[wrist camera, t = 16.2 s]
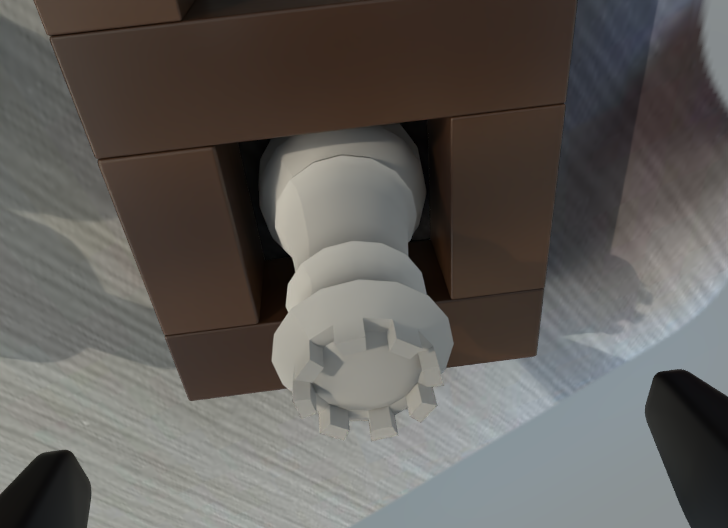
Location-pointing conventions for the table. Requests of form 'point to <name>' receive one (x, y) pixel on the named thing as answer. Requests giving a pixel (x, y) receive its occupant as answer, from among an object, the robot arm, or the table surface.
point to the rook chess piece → (353, 278)
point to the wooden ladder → (313, 115)
